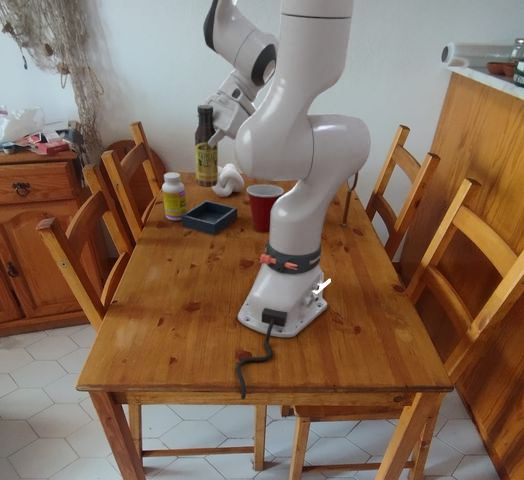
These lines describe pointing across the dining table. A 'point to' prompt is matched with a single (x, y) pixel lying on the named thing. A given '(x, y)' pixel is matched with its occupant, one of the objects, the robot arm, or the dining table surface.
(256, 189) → the plastic cup
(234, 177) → the white knot sculpture
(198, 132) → the sauce bottle
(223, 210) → the tray
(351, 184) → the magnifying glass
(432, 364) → the dining table surface
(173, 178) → the supplement bottle
